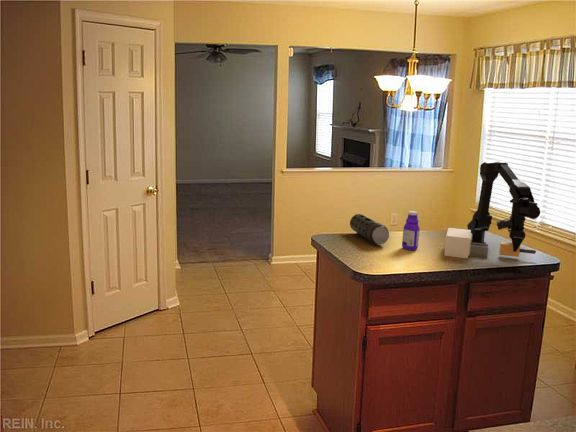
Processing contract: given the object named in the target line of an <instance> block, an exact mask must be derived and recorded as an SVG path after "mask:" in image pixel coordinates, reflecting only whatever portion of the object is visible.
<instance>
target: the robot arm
mask: <svg viewBox="0 0 576 432" xmlns="http://www.w3.org/2000/svg"><path fill="white" fill-rule="evenodd" d="M499 175H500V176H501V178H502V179H503V181H504V182H505V183H506V184H507V186H508V187H509V193H510V194H509V195H510V196H511V197H512V199H510V200H509V202H510V203H511V204H512V205H511V206H512V207H511V212H510V213H511V214H510V215H509V218H505V219H501V220H497V221H496V226H497V230H498V231H501V230H505V229H507V232H508V233H509V235H508V237H509V238H510V239H511V243H513V251H514V252H516V251H517V249H518V248H519V246H520V247H521V244H522V243H523V242H524V240H525V238H526V231H525V221H526V218H529V219H531V220H537V218H539V216H540V215H541V209H540V207H539V206H538V202H535V198H534V195H533V192H532V189H531V187H530V186H529V185H528V184H527V183H525V182H524V181H521V180H520V179H519V178H518V177H517V175H516V174H515V173H514V171H513V170H512V169H511V167H510V166H509V164H508V162H507V161H495V162H494V161H493V162H491V161H490V162H489V161H485V162H482V163H481V165H480V167H479V176H480V178H481V180H482V181H481V188H480V193H479V199H478V206H477V209H476V211H475V212H474V213H473V216H472V219H471V221H469V222H468V224H467V225H466V226H467V230H471V233H472V235H473V237H472V242H473V243H482V244H487V242H485V234H486V232H488V231H489V229H490V226H491V224H492V220H493V215H491V214H490V205H491V199H492V198H491V197H492V192H493V186H494V181H496V179H497V178H499V177H498V176H499Z"/></svg>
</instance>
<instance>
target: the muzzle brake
mask: <svg viewBox="0 0 576 432" xmlns="http://www.w3.org/2000/svg"><path fill="white" fill-rule="evenodd" d="M349 225H350V228H351V230H352V231H354V232H356V234H357V235H358V236H360V237H362V238H365V239H366V240H369V242H370V243H371V244H373V245H384V244H385V243H387V241H389V237H390V233H389V230H388V229H389V228H387V227H386V225H384V224H382V223H378V222H377V221H375V220H373V219H371V218H369V217H367V216H366V215H364V214H361V213H357V214H354V215H353V216H352V217H351V219H350V221H349Z"/></svg>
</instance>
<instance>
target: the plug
mask: <svg viewBox="0 0 576 432" xmlns="http://www.w3.org/2000/svg"><path fill="white" fill-rule="evenodd" d="M498 253H499V256H507V257H508V256H509V257H517V258H519V257H520V253H524V254H533V255H535V254H536V253H537V250H535V249H527V248H521V245H520V246H519V248H518V249H517V251H516V252H514V251H513V243H512V242H507V241H506V242H505V241H500V243H499V252H498Z"/></svg>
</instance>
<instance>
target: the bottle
mask: <svg viewBox="0 0 576 432" xmlns="http://www.w3.org/2000/svg"><path fill="white" fill-rule="evenodd" d="M418 213H419V212H418V211H415V210H409V211H408V213H407V214H408V215H407V218H406V219H405V224H404V226H403V228H402V229H403V231H402V241H401V247H402V248H403V249H405V250H408V251H416V250H418V248H419V242H420V241H419V240H420V238H419V237H420V225H419V222H420V221H419V218H418Z"/></svg>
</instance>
